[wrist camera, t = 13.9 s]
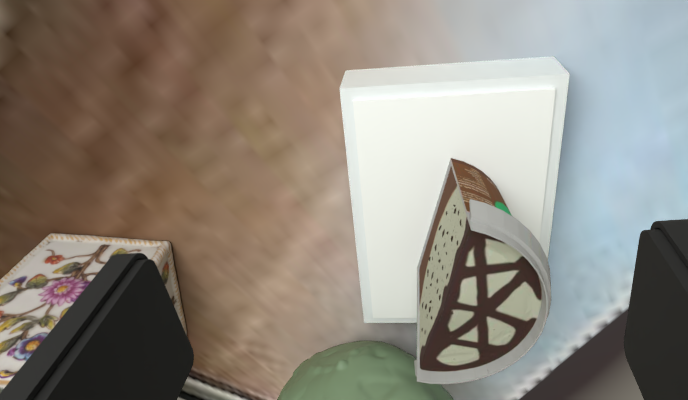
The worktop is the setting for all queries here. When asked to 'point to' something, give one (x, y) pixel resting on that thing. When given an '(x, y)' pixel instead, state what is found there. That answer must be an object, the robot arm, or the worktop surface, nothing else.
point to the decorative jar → (63, 288)
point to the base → (444, 158)
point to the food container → (477, 283)
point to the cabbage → (360, 375)
